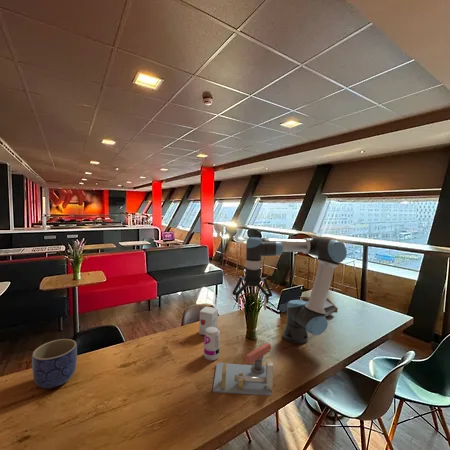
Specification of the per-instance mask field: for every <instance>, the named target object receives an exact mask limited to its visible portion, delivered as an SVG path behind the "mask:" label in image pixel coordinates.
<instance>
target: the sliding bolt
mask: <svg viewBox="0 0 450 450" xmlns="http://www.w3.org/2000/svg"><path fill="white" fill-rule="evenodd" d="M265 366H266V377H254V376H239V375H235V382H239V379H243V382H248V383H262V384H266V390H270V391H273V379H274V378H273V375H274V363H273V361H270V360H266V365H265Z"/></svg>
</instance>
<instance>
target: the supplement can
mask: <svg viewBox="0 0 450 450" xmlns="http://www.w3.org/2000/svg"><path fill="white" fill-rule="evenodd" d="M220 331H221V330H220V328H218V326H217V327H214V326H210V327H207V328H206V330H205V333H204V335H203V337H204V339H203V340H204V342H203V357H204V359H206V360H207V361H216V360H217V359H218V358H219V357H220V341H221V340H220V339H221V338H220V337H221V332H220Z"/></svg>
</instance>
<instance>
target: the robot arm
mask: <svg viewBox="0 0 450 450" xmlns="http://www.w3.org/2000/svg"><path fill="white" fill-rule="evenodd" d="M245 245H246V246H245V247H246V249H245V250H246V251H245V276H239V278H238V281H237V283H236V285H235V286H234V287H233V290H232V291H231V292H232V295H233V296H235V302H236V303H237V310H240V300H241V299H240V298H241V297H240V294H241V293H242V292H243V291H245V289H246V288H247V287H248V286H249V287H258V288H259V290H260V291H261V292H262V293H263V295H264V298H263V310H264V311H267V304H269V300H270V297H273V293H272V291H271V289H270V287H269V284H268V282H267V277H265V276H264V277H261V268H262V265H261V264H262V263H261V262H262V257H272V256H274V257H276V256H281V255H282V254H283V252H284V253H287V252H288V253H302V254H303V255H304V254H306V255H313V256H315V257H317V260H316V261H317V262H318V267H317V270H316V274H315V277H314V281H313V283H312V284H313V285H312V287H311V288H312V289H311V292H310V296H309V297H310V299H309V303H308V304H307V301H305V300H303V301H302V300H299V299H292V300H289V301H288V302H287V306H286V324H285V326H284V329H283V332H282V336H283V338H284V339H285V340H286V341H288V342H290V343H293V344H299V345H302V344H306V343H307V342H309V334H310V335H313V336H320V335H322V334H324V332H325V331H326V330H327V328H328V325H329V321H328V320H327V318H326V317H325V314H326V312H325V310H324V306H325V303H326V299H327V298H328V295H329V292H330V291H329V290H330V288H331V284H332V280H333V275H334V272H335V270H336V269H335V268H337V267H338V266H339V265H340V263H342V262H343V261H345V259H346V258H347V255H348V253H347V252H348V251H347V250H348V249H347V247H346V246H345V244H344V242H342V241H340V240H336V239H330V238H325V237H304V238H302V239H294V238H293V239H292V238H272V237H271V238H265V237H263V238H262V237H256V236H255V237H254V236H253V237H251V236H250V237H248V238H247V239H246V244H245ZM243 281H245V282H244V284H243V285H242V286H241V284H242V283H243ZM260 282H263V283H264V285H265V288H266V290H267V291H266V290H265V289H264V287H263V286H262V284H260ZM240 286H241V287H240ZM308 333H309V334H308Z"/></svg>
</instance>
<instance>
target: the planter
mask: <svg viewBox="0 0 450 450" xmlns="http://www.w3.org/2000/svg"><path fill="white" fill-rule="evenodd" d="M77 345H78V344H77V342H76V341H75V340H73V339H71V338H61V339H60V338H59V339H55V340H50V341H49V342H48V341H47V342H46V343H43V344H41V345H40V346H38V347H37V348H35V350H33V352H32V353H31V354H32V355H31V367H32V371H31V372H32V377H33V381H34V383H35V385H37V387H39V388H42V389H52V388H56V387H58V386H61V385H64V384H65V383H67V381H69V380H70V379H71V378H72V377H73V375H74V373H75V372H76V369H77V361H78V346H77Z"/></svg>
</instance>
